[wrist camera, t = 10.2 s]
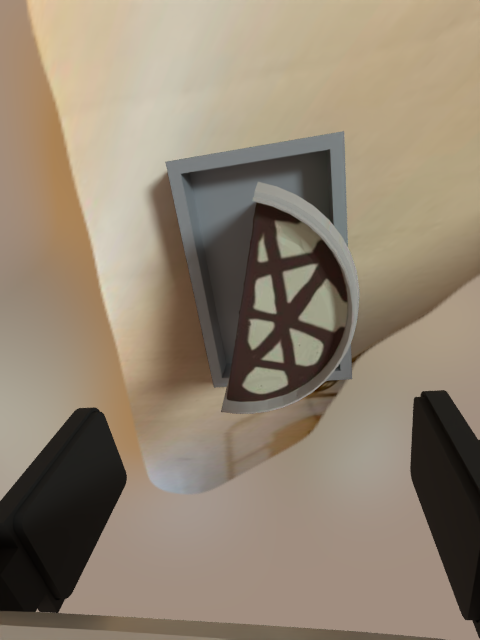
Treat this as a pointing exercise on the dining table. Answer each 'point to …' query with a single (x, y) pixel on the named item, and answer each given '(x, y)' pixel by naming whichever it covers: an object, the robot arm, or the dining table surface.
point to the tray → (247, 224)
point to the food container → (290, 305)
